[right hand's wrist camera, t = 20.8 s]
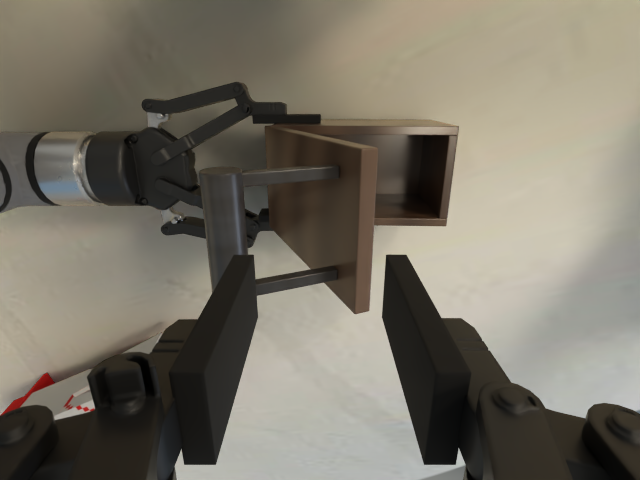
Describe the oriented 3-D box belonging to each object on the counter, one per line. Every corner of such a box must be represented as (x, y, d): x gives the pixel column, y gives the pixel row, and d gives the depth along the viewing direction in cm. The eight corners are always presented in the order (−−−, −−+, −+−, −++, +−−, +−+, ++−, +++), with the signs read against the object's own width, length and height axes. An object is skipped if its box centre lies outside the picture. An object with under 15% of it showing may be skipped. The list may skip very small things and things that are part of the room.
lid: (379, 147, 18) (203, 157, 15) (369, 311, 22) (223, 346, 19) (275, 125, 33) (175, 128, 30) (279, 225, 36) (189, 237, 33)
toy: (245, 419, 46) (17, 515, 46) (249, 355, 59) (71, 430, 59) (200, 341, 42) (-51, 446, 42) (214, 291, 55) (22, 371, 55)
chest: (430, 119, 43) (459, 126, 33) (422, 199, 46) (446, 226, 36) (285, 119, 43) (270, 125, 34) (287, 197, 47) (275, 224, 37)
